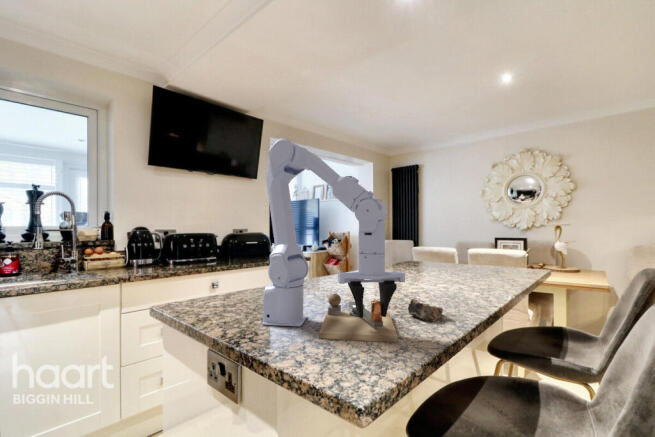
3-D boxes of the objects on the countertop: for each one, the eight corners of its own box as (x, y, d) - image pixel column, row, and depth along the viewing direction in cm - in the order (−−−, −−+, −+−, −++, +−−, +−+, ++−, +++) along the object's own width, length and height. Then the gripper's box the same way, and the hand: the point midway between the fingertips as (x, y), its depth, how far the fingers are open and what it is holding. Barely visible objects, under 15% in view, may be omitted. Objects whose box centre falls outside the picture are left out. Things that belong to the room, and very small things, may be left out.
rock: (430, 325, 70) (454, 311, 75) (422, 301, 71) (446, 289, 76) (404, 324, 77) (428, 311, 83) (397, 302, 78) (421, 291, 83)
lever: (345, 306, 78) (345, 287, 78) (356, 306, 79) (357, 287, 79) (372, 328, 61) (372, 303, 62) (385, 326, 62) (385, 302, 62)
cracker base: (319, 338, 61) (319, 308, 61) (327, 315, 77) (327, 291, 77) (397, 342, 59) (397, 311, 59) (389, 317, 75) (389, 293, 75)
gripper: (342, 255, 58) (342, 323, 58) (411, 254, 61) (411, 320, 60) (336, 252, 65) (335, 313, 65) (397, 251, 68) (397, 310, 67)
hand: (371, 316), depth 63 cm, fingers open, 4 cm apart
